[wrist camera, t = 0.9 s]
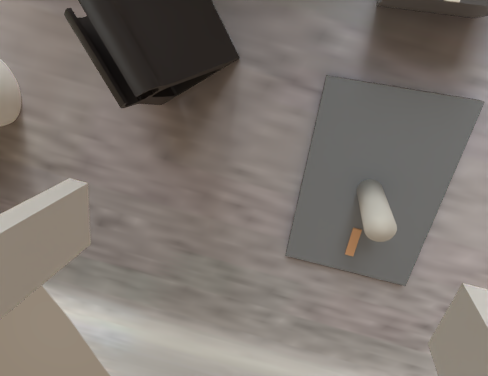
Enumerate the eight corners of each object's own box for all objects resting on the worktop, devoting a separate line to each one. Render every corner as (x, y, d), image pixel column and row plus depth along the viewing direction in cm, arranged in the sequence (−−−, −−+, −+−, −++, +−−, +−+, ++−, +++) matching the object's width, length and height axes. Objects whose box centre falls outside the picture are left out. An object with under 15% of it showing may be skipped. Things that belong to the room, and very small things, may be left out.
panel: (326, 75, 28) (325, 84, 21) (479, 100, 26) (535, 119, 19) (286, 250, 36) (275, 301, 28) (403, 279, 34) (423, 342, 26)
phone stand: (207, -10, 28) (130, -47, 17) (240, 58, 29) (189, 63, 18) (128, 45, 31) (23, 44, 20) (162, 104, 33) (79, 132, 22)
